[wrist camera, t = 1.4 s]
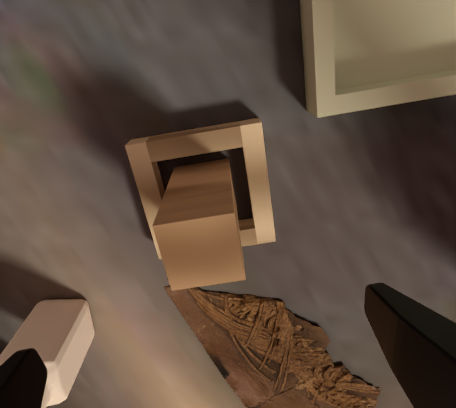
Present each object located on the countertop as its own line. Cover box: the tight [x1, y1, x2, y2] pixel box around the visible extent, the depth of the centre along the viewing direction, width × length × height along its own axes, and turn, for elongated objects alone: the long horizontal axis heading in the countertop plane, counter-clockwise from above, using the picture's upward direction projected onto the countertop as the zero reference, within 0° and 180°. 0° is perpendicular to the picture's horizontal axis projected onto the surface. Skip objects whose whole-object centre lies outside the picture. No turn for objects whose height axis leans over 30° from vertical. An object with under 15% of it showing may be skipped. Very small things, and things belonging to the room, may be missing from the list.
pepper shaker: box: [0, 299, 95, 408], centre depth 22 cm, size 4×4×10 cm
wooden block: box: [152, 158, 246, 291], centre depth 19 cm, size 4×4×8 cm
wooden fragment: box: [164, 286, 381, 408], centre depth 29 cm, size 26×11×1 cm, turn 40°
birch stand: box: [125, 118, 276, 259], centre depth 21 cm, size 8×8×2 cm
